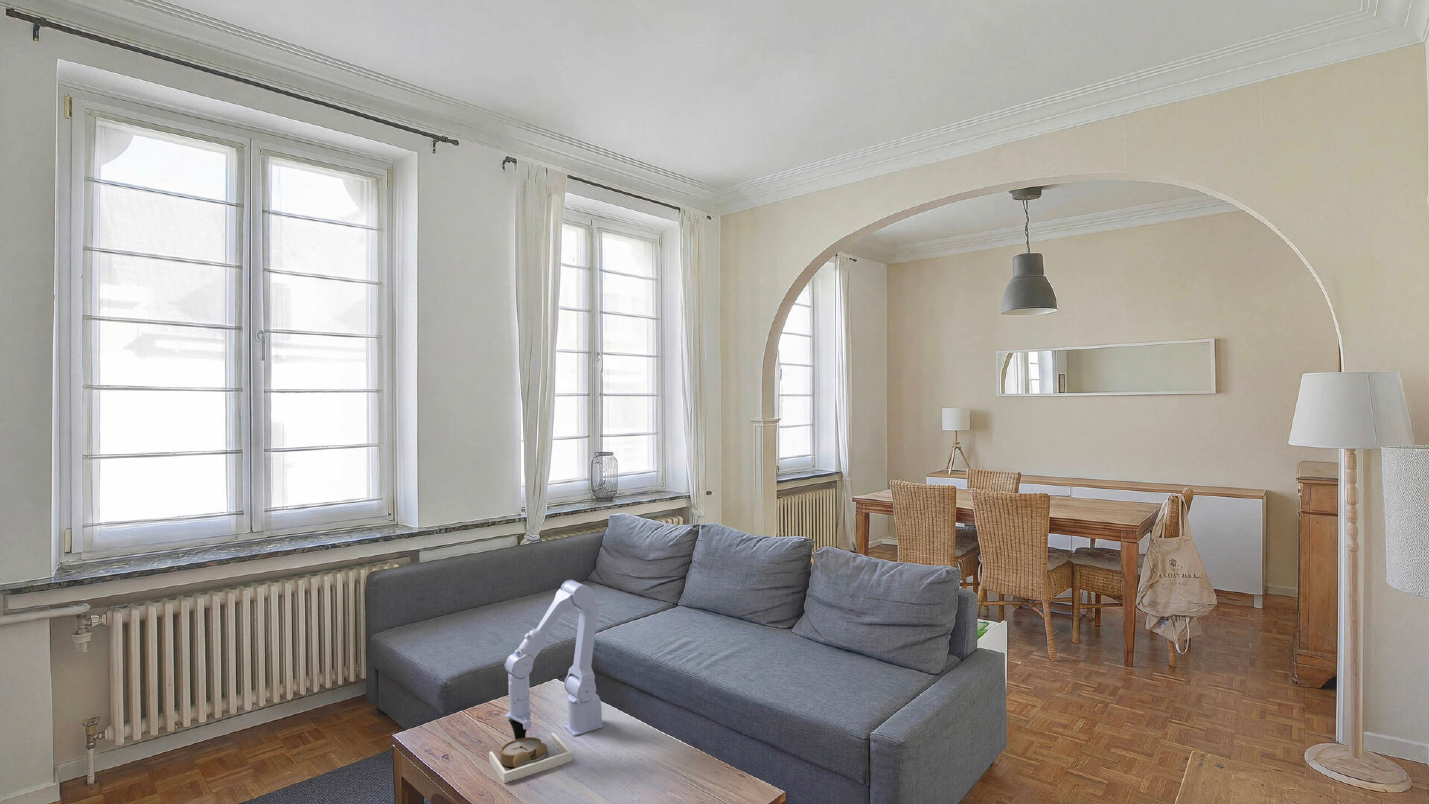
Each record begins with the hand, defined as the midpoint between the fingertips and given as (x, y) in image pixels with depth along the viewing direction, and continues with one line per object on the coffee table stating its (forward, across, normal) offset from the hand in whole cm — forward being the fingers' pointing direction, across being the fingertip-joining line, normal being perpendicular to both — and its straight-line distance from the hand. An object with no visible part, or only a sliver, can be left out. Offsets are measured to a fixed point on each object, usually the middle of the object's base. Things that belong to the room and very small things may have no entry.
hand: (520, 743), depth 199 cm
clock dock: (+1, +9, 0) cm, 9 cm away
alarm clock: (+1, +8, -1) cm, 8 cm away
